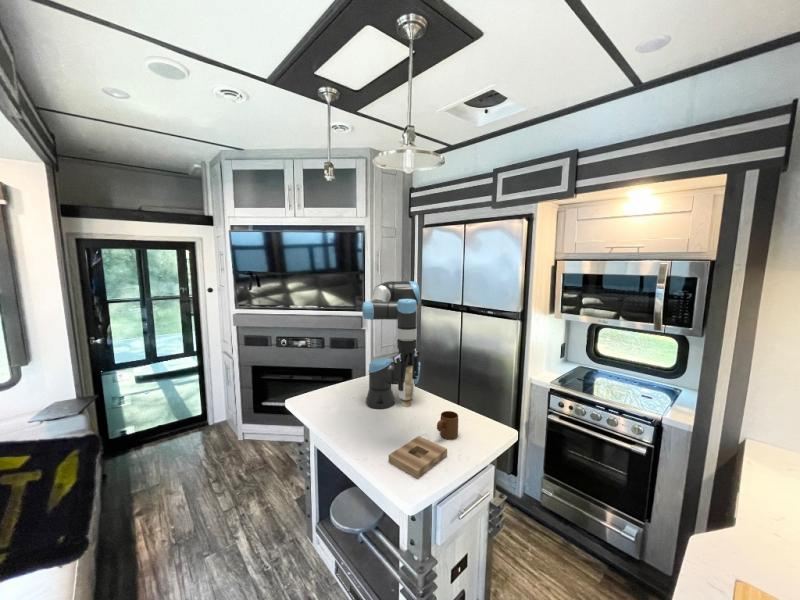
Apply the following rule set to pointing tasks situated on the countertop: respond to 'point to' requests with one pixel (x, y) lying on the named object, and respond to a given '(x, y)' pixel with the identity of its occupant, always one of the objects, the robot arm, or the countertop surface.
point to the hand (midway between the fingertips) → (406, 396)
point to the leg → (408, 387)
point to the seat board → (417, 456)
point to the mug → (448, 425)
